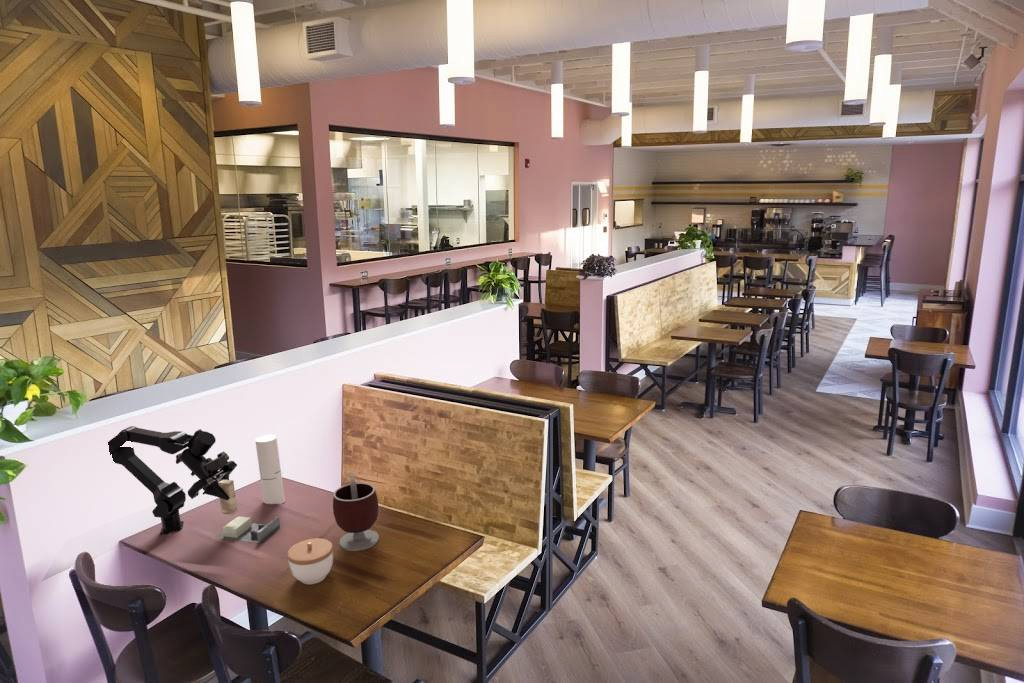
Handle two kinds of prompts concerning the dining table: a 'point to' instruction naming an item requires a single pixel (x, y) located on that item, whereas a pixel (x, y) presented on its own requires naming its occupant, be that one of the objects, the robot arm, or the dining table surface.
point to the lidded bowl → (311, 560)
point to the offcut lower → (238, 532)
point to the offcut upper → (236, 525)
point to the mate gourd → (356, 514)
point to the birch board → (230, 504)
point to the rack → (256, 532)
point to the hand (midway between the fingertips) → (231, 497)
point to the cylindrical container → (270, 469)
